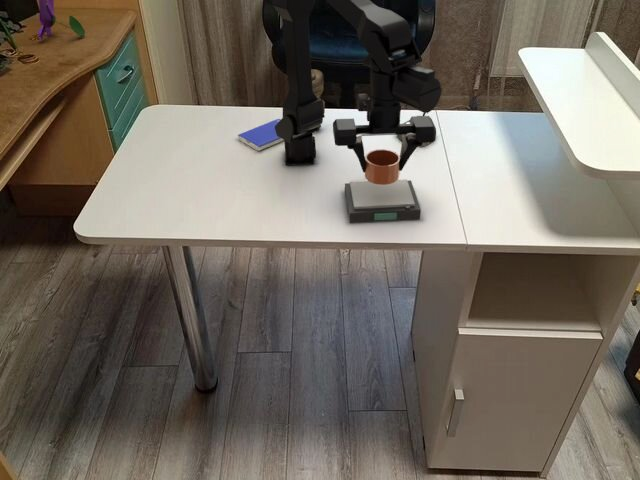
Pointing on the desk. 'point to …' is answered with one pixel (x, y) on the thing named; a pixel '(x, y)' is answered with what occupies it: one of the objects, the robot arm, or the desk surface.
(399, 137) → the sword in stone
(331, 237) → the desk surface
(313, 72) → the light bulb
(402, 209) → the scale
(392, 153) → the bowl
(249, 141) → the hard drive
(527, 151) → the desk surface
